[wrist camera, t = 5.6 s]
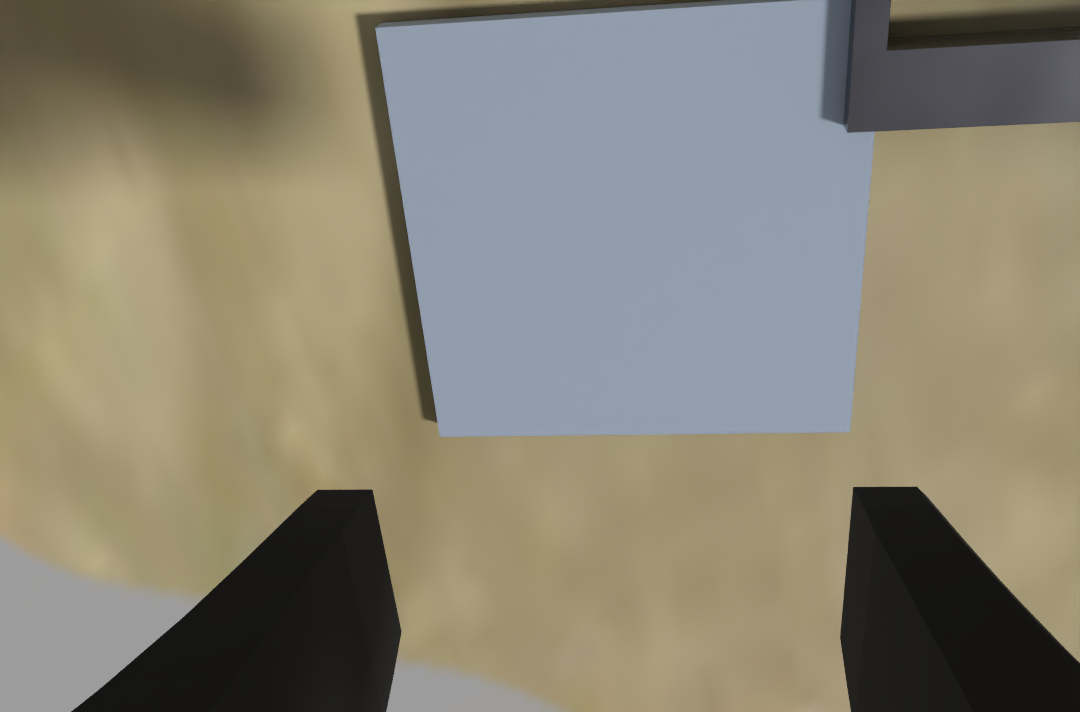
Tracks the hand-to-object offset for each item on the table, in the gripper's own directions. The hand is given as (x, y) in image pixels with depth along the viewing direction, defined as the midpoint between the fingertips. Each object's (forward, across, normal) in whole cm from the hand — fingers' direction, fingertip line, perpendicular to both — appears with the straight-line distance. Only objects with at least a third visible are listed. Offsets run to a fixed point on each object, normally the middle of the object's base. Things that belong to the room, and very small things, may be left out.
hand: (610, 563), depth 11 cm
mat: (+9, 0, 0) cm, 9 cm away
